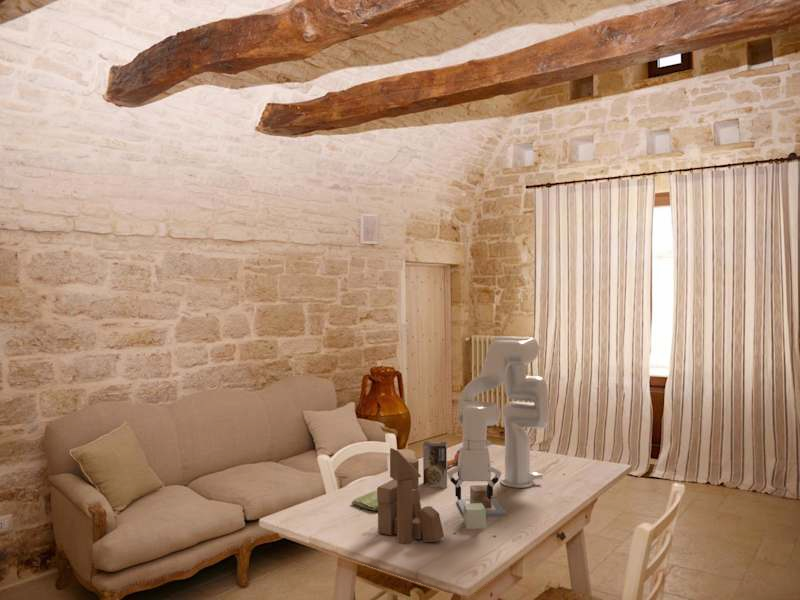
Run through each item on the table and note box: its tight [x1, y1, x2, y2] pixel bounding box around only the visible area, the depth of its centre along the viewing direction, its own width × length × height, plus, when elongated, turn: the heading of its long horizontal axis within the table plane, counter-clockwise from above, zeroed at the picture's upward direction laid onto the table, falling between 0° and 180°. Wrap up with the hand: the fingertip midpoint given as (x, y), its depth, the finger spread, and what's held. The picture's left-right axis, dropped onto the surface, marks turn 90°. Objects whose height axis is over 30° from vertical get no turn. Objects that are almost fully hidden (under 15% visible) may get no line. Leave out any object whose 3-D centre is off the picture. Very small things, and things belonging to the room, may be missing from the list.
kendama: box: [447, 449, 460, 469], centre depth 272 cm, size 6×6×20 cm
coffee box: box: [422, 441, 448, 489], centre depth 244 cm, size 9×6×16 cm
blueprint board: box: [456, 497, 506, 517], centre depth 218 cm, size 14×14×1 cm
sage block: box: [463, 503, 487, 530], centre depth 203 cm, size 6×6×6 cm
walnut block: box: [469, 484, 491, 508], centre depth 218 cm, size 6×6×6 cm
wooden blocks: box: [376, 447, 445, 544], centre depth 196 cm, size 24×20×28 cm
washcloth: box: [351, 489, 378, 513], centre depth 224 cm, size 13×18×3 cm
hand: (474, 498), depth 202 cm, fingers open, 9 cm apart
